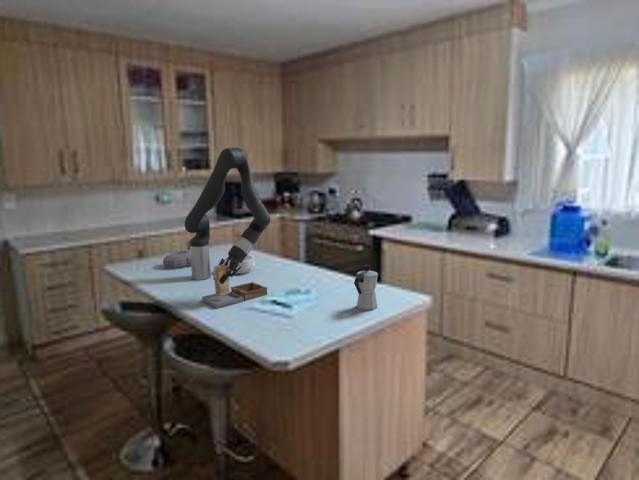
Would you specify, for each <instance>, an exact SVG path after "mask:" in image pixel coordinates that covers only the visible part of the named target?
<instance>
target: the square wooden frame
mask: <svg viewBox="0 0 639 480" xmlns="http://www.w3.org/2000/svg"><path fill="white" fill-rule="evenodd" d="M230 292H233V293H235V294H237V295H239V296H242V297H244V302H245V301H249V300H253V299H257V298H261V297H264V296H267V295H268V287H267V286H265V285H262V284H258V283H256V282H253V281H252V282H248V283H243V284H239V285H235V286H231V287H230Z"/></svg>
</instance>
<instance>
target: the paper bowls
mask: <svg viewBox="0 0 639 480" xmlns="http://www.w3.org/2000/svg"><path fill="white" fill-rule="evenodd" d="M228 257H229V256H227V257H226V258H228ZM238 265H240V266H241V268H240V269H239V270H238V271H237V272H236V273H235V274H234V275H243V274H248V273H250V272H251V270H252V269H253V268H254V267H255V265H256V264H255V257H254V256H253V255H250V254H248V255H247V256H246V258H245V259H244V261H243V262H242V263H239V264H238ZM233 272H234V271H233Z"/></svg>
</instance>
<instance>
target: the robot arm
mask: <svg viewBox="0 0 639 480" xmlns="http://www.w3.org/2000/svg"><path fill="white" fill-rule="evenodd" d="M248 161H249V160H248V157H247V154H246V152H245V151H244V150H243V149H242V148H240V147H227V148H224V149H222V150H221V152H220V154H219V156H218V158H217V160H216V163H215V165H214V168H213V170H212V173H211V174H210V176H209V178H208V180H207V182H206V183H205V185H204V187H203V188H202V191H201V194H200V195H199V197H198V199H197V201H196V202H195V204H194V206H192V209H191V210H190V211H189V213H188V214H187V216H186V217H185V219H184V220H185V221H184V228H185V231H187V232H188V233H190V234H195V235H194V237H192V238H191V239H190V240H189V250H190V253H191V266H190V267H191V278H192V280H195V281H203V280H204V281H205V280H209V279H210V278H211V275H212V274H211V260H210V258H211V257H210V248H209V247H210V246H209V245H210V244H209V242H210V238H211V237H210V235H211V233H210V231H211V228H210V226H211V225H210V224H211V223H210V218H209V216H208V215H207V213H208V212H210V210H211V211H212V209H213V208H214V207H216V205H218V204H219V202H221V199H222V197H223V196H224V194H225V191H226V185H225V184H226V183H225V182H226V181H225V180H226V177H227V175H228V174H229V172H230V170H232V169H236V170H237V172H238V174H239V176H240V180H241V182H240V183H241V184H240V186H241V187H240V188H241V189H240V191H241V195H242V199H243V201H244V203H245V205H246V206H245V207H247V209H248V210H249V211H250V212H251V214H252V216H253V219H252V221H251V222H250V223H249V226H248V227H247V228H245V230H244V231H243V232H242V233H241V236H239V237H238V239H237V240H236V241H235V242H234V244H233V245H232V247H230V249H229V250H228V252H227V255H228V256H227V257H228V258H227V257H226V258H225V259H224V258H222V259H220V261H219V264H218V265H226V266H228V267H227V268H226V271H225V273H224V274H225V275H224V274H223V276H222V277H221V279H220V280H219V282H220V283H221V284H223V283H224V282H225V281H226V279H227V278H228V277H229V278H233V277H234V276H235V275H236V274H235V273H236V272H237V271H238V270H239V269H240V268H241V266H240V265H238V264H239V263H242V262H243V261H244V259H245V258H246V256H247V255H250V252H251V251H252V248H253V247H254V245H255V244H256V243H257V242H258V240H259V237H260V236H261V234H262V233H264V231H265V230H266V229H267V227H268V226H269V225H270V222H271V216H270V213H269V212H268V209H267V208H266V207H265V205H264V204H263V202H262V199H261V197H260V195H259V193H258V191H257V187H256V186H255V183H254V180H253V176H252V172H251V169H250V165H249V162H248ZM233 271H234V272H233ZM212 280H214V281H215V278H214V277H213V278H212Z"/></svg>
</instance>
